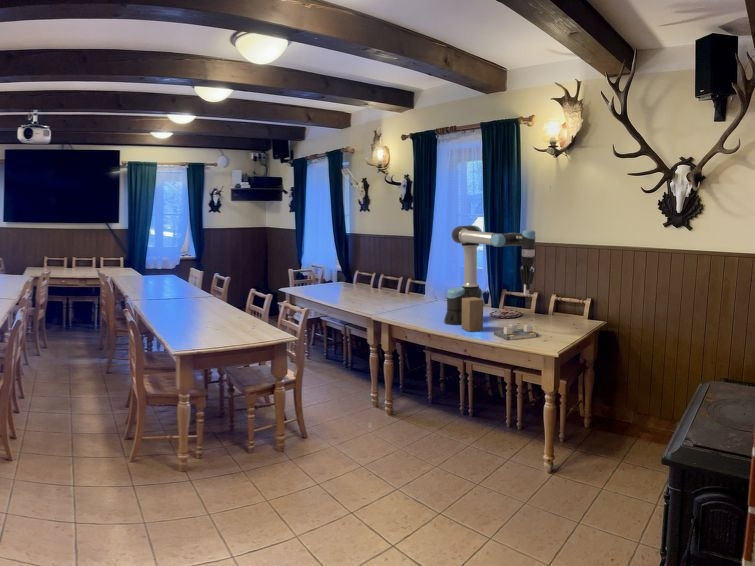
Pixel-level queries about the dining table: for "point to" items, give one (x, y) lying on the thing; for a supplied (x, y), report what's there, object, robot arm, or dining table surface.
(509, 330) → the slider
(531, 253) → the robot arm
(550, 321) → the dining table surface
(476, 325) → the wooden block
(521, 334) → the console
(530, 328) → the slider
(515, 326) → the slider
